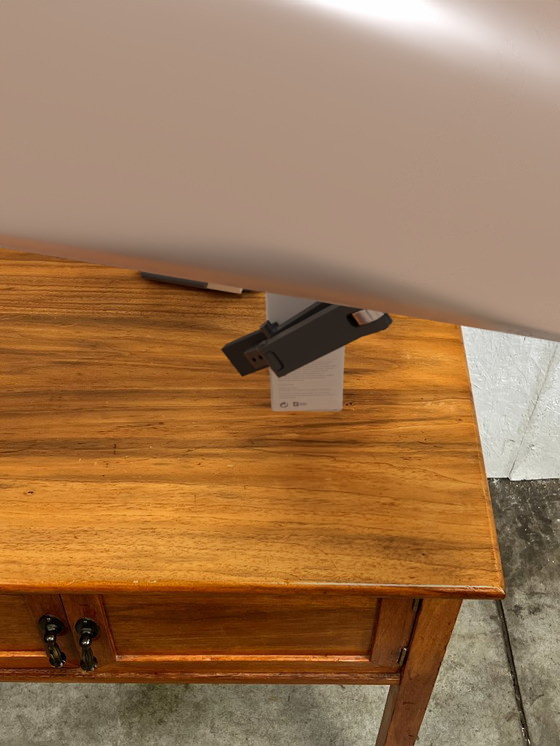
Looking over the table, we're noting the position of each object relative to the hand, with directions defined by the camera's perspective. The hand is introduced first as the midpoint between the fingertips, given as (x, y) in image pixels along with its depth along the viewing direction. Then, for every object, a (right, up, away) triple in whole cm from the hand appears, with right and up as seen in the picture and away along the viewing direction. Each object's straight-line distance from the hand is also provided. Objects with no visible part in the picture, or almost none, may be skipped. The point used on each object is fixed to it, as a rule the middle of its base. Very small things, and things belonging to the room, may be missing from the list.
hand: (271, 322), depth 63 cm
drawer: (-8, +9, +28) cm, 30 cm away
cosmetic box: (+3, -4, +2) cm, 5 cm away
